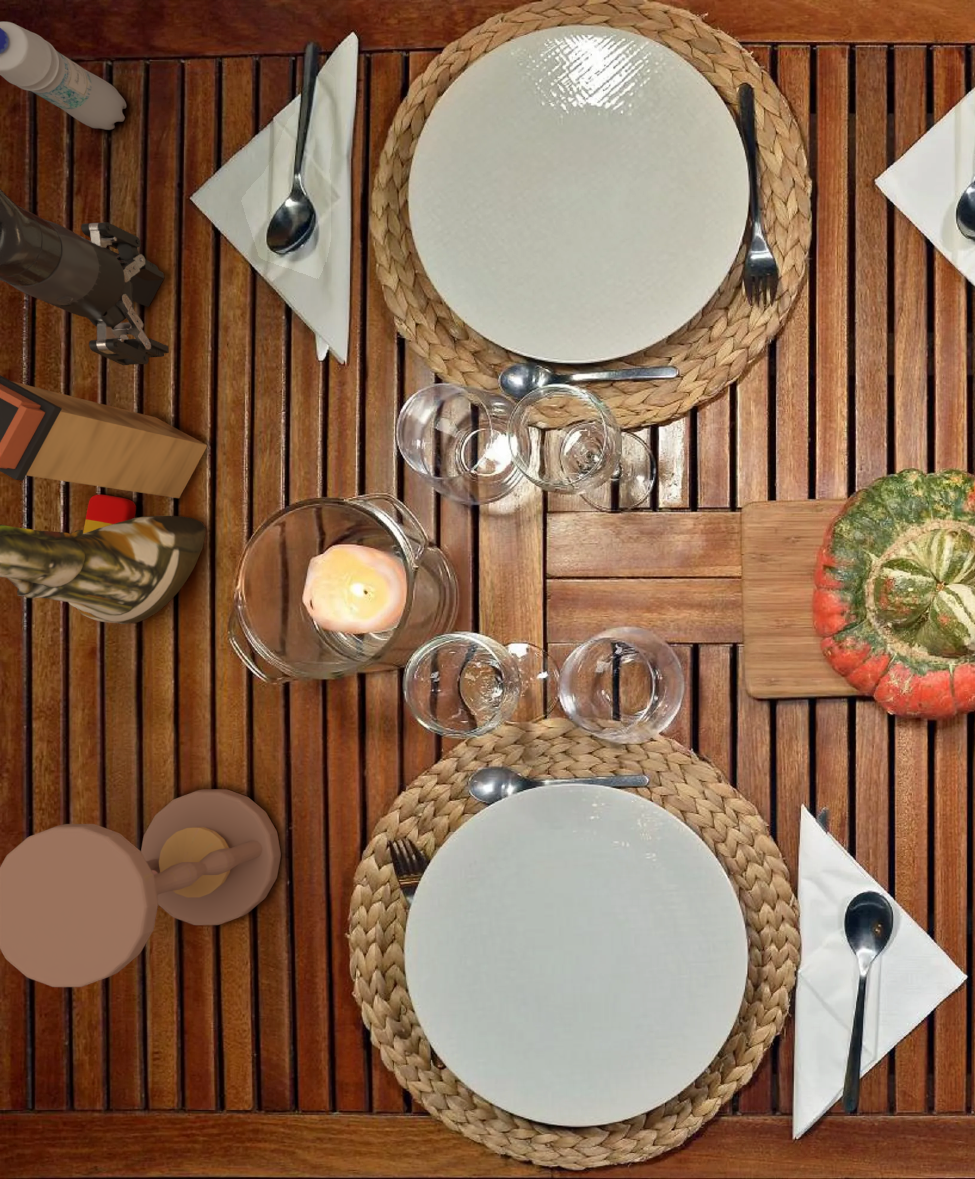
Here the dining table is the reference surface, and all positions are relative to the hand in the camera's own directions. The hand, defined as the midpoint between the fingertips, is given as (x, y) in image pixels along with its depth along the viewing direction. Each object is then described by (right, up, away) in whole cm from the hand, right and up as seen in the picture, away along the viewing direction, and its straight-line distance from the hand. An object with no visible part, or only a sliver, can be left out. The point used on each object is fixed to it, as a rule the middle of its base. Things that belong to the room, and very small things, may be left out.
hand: (158, 314), depth 123 cm
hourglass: (-5, -67, +18) cm, 69 cm away
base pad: (-12, -14, -6) cm, 19 cm away
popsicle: (-20, -27, +19) cm, 38 cm away
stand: (-12, -14, +19) cm, 27 cm away
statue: (-12, -29, +19) cm, 37 cm away
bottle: (-20, +32, +20) cm, 43 cm away
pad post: (-16, +9, +20) cm, 27 cm away
